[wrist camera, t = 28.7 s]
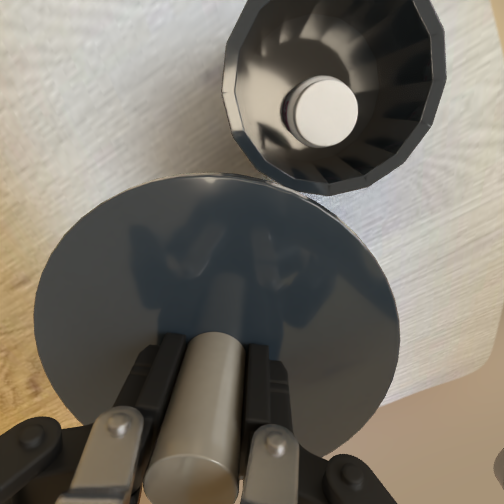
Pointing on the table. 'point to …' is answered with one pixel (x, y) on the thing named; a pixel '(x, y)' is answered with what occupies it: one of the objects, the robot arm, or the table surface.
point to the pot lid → (217, 318)
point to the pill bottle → (320, 111)
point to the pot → (343, 68)
